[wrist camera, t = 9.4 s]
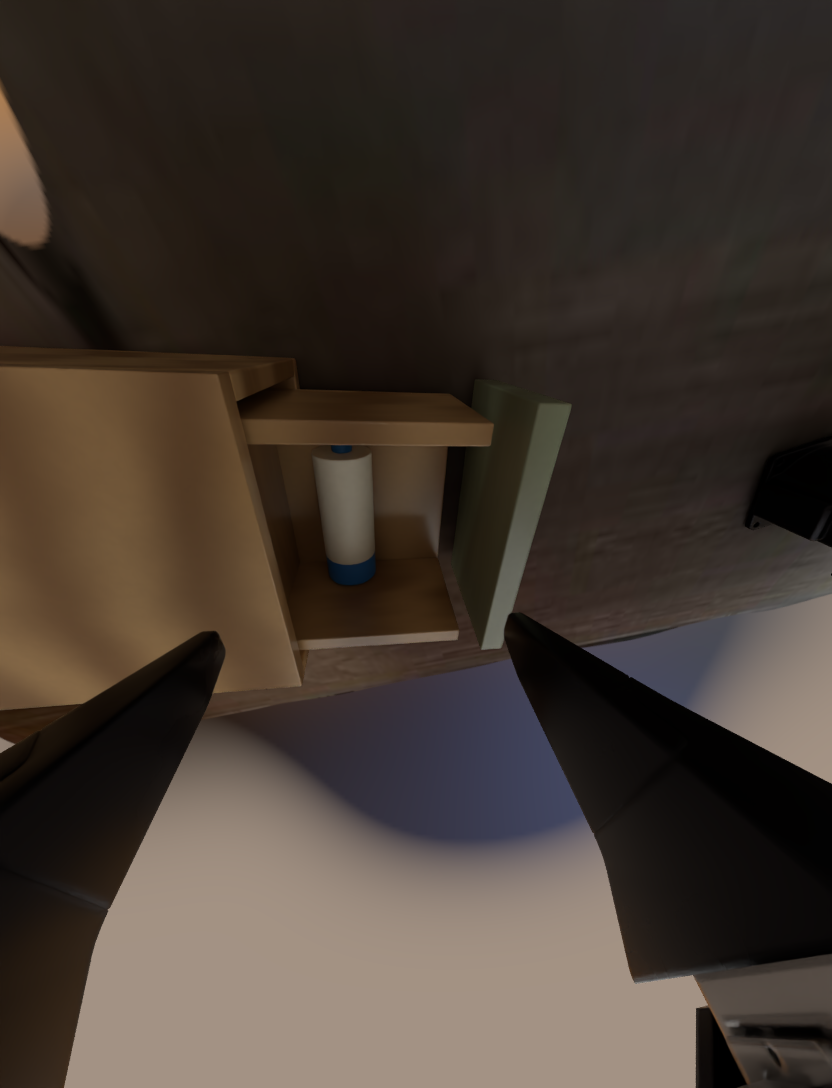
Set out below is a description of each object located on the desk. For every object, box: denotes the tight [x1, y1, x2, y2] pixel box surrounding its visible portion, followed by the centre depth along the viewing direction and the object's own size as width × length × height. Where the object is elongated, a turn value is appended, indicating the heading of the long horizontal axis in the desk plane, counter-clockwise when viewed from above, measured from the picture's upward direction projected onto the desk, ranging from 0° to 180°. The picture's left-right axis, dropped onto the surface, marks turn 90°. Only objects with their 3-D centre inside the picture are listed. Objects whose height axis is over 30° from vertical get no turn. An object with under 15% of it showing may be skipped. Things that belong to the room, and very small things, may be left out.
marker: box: [312, 445, 376, 585], centre depth 17 cm, size 8×3×3 cm
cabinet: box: [0, 346, 309, 710], centre depth 15 cm, size 14×14×10 cm
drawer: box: [236, 379, 572, 650], centre depth 16 cm, size 14×12×8 cm
